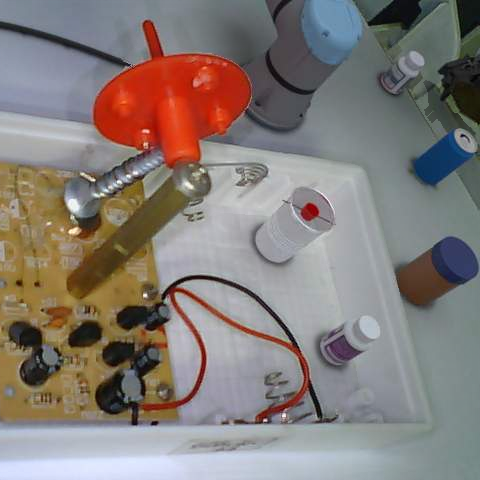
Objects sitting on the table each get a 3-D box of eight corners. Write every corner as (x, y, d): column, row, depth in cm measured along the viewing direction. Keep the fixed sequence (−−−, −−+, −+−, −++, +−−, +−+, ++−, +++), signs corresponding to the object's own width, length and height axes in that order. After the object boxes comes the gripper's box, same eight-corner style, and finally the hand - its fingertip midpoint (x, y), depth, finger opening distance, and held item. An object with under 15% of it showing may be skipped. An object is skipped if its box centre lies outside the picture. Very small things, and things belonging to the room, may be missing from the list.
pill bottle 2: (398, 80, 174) (426, 54, 167) (400, 97, 171) (429, 71, 164) (379, 71, 173) (406, 44, 166) (381, 89, 170) (408, 62, 163)
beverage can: (437, 171, 164) (479, 137, 155) (434, 192, 160) (478, 160, 151) (412, 155, 163) (453, 121, 154) (409, 176, 159) (451, 142, 150)
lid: (438, 282, 133) (448, 276, 131) (426, 239, 137) (435, 233, 135) (474, 287, 136) (484, 281, 135) (461, 245, 141) (470, 239, 139)
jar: (402, 303, 140) (446, 276, 132) (392, 264, 144) (434, 235, 136) (436, 308, 144) (481, 282, 135) (425, 269, 147) (468, 241, 139)
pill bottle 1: (349, 367, 128) (387, 345, 120) (322, 364, 125) (359, 342, 118) (342, 336, 130) (380, 313, 123) (316, 333, 128) (352, 309, 121)
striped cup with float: (299, 235, 137) (340, 200, 128) (295, 275, 132) (338, 242, 123) (250, 213, 135) (288, 176, 125) (244, 253, 130) (284, 217, 120)
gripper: (520, 111, 176) (504, 165, 163) (434, 41, 175) (411, 90, 162) (547, 90, 171) (533, 144, 157) (459, 17, 169) (436, 67, 156)
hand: (471, 117), depth 159 cm, fingers open, 13 cm apart
